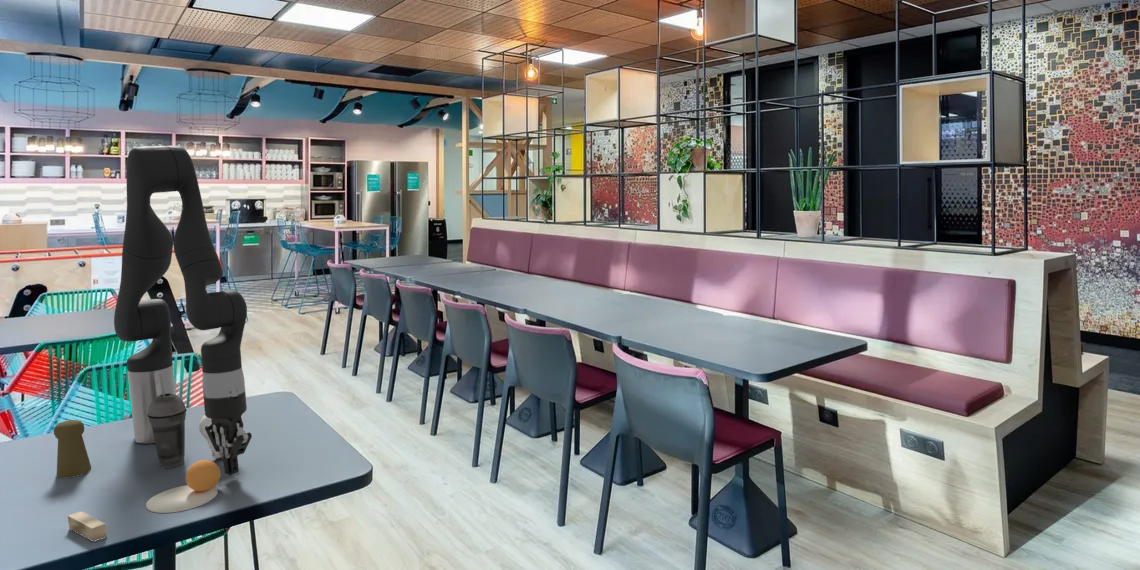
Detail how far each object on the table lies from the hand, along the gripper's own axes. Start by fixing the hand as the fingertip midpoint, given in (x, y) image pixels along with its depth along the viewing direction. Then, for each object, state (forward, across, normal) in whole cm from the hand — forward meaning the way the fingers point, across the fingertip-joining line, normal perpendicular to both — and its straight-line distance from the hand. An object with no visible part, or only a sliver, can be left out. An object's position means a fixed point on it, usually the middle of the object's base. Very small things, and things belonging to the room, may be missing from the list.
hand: (231, 473), depth 140 cm
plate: (+1, 0, -10) cm, 10 cm away
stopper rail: (+1, 0, -26) cm, 26 cm away
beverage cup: (+2, -19, -2) cm, 19 cm away
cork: (+2, -33, -15) cm, 36 cm away
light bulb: (+2, -13, +5) cm, 14 cm away
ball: (-2, 0, -6) cm, 6 cm away
